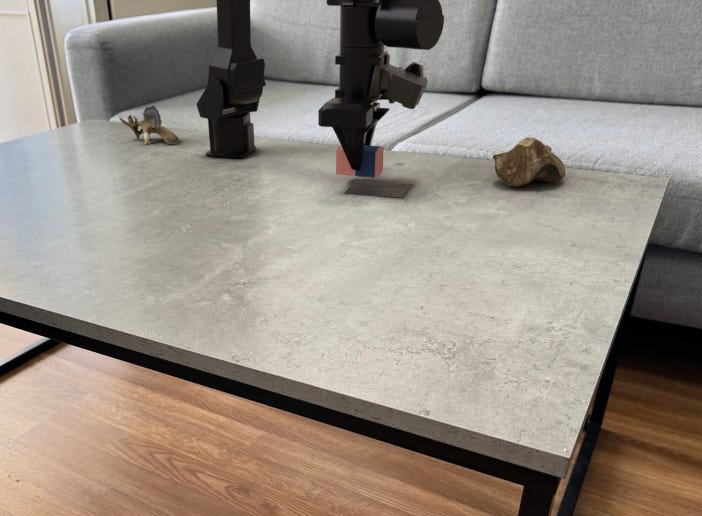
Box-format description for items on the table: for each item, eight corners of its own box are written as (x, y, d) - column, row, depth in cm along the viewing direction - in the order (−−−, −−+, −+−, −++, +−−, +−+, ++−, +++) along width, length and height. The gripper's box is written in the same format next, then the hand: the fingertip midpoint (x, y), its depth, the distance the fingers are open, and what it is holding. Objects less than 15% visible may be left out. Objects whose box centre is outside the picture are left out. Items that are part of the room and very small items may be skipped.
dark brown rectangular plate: (344, 193, 95) (344, 192, 95) (355, 180, 100) (355, 180, 100) (402, 198, 93) (402, 197, 92) (411, 185, 97) (411, 184, 97)
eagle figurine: (116, 140, 122) (158, 133, 117) (119, 100, 122) (161, 92, 118) (144, 155, 128) (184, 149, 124) (146, 117, 129) (187, 110, 125)
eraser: (335, 175, 98) (335, 149, 96) (341, 169, 100) (342, 144, 99) (377, 177, 96) (378, 151, 94) (382, 171, 98) (383, 146, 97)
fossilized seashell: (554, 153, 99) (483, 168, 100) (564, 118, 93) (488, 134, 94) (571, 194, 96) (497, 208, 96) (582, 160, 90) (504, 176, 91)
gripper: (409, 56, 80) (401, 190, 88) (437, 36, 94) (428, 152, 102) (316, 55, 83) (317, 184, 91) (357, 36, 98) (355, 148, 106)
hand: (358, 166), depth 98 cm, fingers closed on eraser, 3 cm apart
